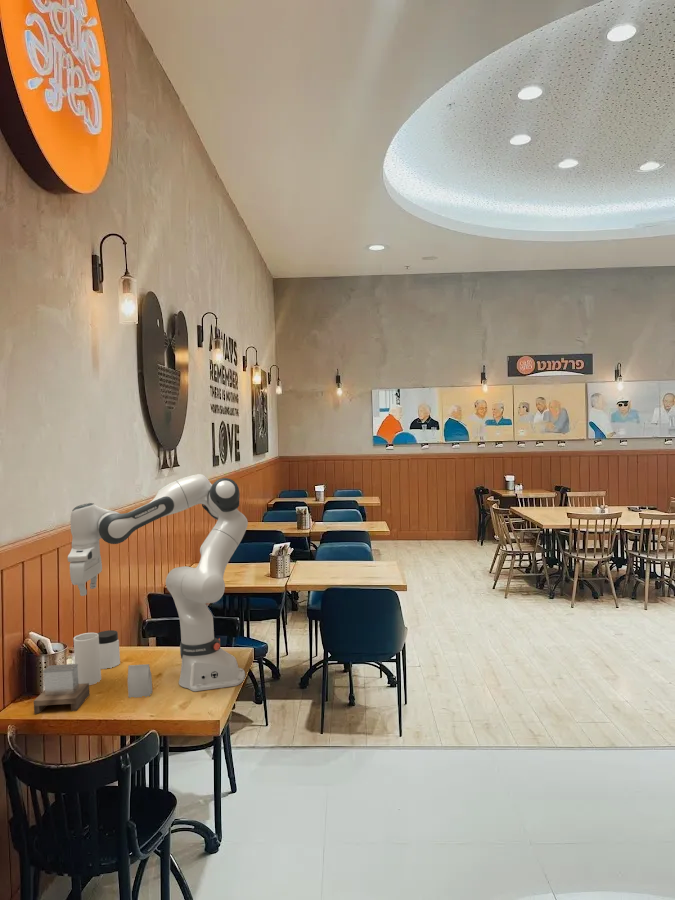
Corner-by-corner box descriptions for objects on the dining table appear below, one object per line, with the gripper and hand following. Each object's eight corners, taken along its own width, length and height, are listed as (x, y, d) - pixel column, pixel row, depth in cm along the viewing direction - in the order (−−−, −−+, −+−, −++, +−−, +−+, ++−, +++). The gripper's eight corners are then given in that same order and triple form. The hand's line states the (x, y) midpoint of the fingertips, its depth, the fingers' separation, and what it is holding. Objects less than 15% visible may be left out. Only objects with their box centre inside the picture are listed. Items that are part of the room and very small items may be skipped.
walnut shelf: (89, 695, 213) (88, 683, 213) (76, 710, 201) (75, 698, 201) (49, 697, 213) (49, 685, 213) (34, 713, 201) (33, 701, 201)
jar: (94, 664, 242) (92, 633, 242) (116, 659, 247) (114, 628, 246) (99, 671, 235) (97, 639, 234) (122, 666, 239) (120, 634, 239)
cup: (92, 686, 221) (89, 640, 220) (71, 685, 223) (68, 640, 222) (105, 677, 229) (103, 632, 228) (85, 676, 231) (82, 632, 230)
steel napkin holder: (79, 687, 210) (77, 663, 209) (73, 693, 205) (72, 669, 205) (50, 689, 209) (49, 665, 209) (44, 695, 205) (43, 671, 204)
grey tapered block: (149, 696, 210) (147, 666, 209) (128, 697, 210) (126, 667, 209) (152, 692, 214) (150, 662, 213) (132, 693, 213) (130, 663, 213)
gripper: (87, 546, 229) (89, 584, 229) (65, 557, 208) (67, 600, 209) (105, 545, 229) (107, 583, 229) (85, 556, 208) (87, 599, 209)
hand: (88, 591), depth 219 cm, fingers open, 8 cm apart
